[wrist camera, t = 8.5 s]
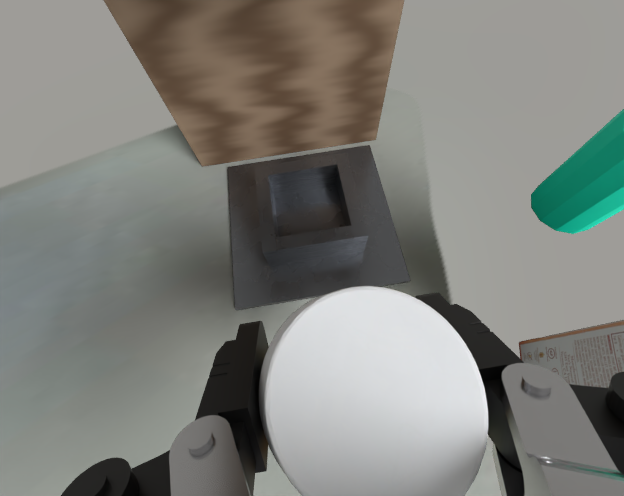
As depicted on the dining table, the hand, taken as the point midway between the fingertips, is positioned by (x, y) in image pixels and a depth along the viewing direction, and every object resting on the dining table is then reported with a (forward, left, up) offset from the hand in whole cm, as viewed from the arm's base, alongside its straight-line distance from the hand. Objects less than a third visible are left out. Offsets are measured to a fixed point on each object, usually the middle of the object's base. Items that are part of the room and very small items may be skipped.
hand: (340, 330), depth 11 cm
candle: (+25, +10, -16) cm, 32 cm away
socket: (0, +13, -16) cm, 21 cm away
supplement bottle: (0, -2, -5) cm, 5 cm away
